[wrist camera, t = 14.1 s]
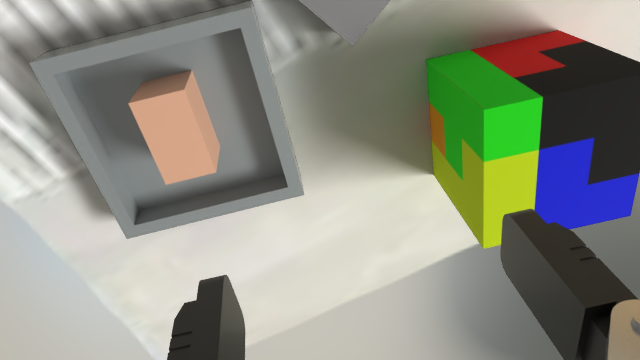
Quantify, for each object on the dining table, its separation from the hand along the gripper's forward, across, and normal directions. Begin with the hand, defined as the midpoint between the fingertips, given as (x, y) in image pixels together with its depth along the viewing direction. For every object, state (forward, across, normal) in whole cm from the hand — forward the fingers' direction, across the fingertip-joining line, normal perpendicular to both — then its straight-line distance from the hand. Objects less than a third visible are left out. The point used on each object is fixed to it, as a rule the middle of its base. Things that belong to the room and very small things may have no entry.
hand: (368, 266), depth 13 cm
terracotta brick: (+22, +9, +3) cm, 24 cm away
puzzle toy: (+22, -14, +8) cm, 27 cm away
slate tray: (+22, +9, +3) cm, 24 cm away
